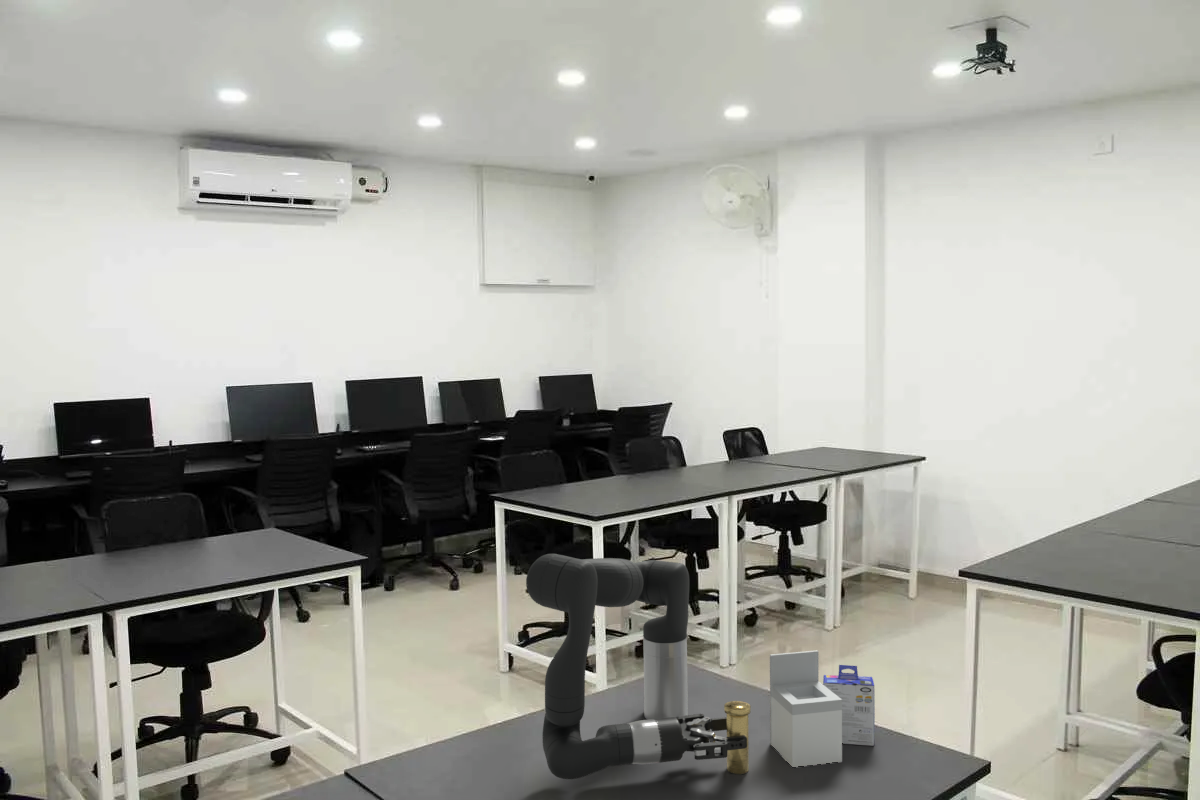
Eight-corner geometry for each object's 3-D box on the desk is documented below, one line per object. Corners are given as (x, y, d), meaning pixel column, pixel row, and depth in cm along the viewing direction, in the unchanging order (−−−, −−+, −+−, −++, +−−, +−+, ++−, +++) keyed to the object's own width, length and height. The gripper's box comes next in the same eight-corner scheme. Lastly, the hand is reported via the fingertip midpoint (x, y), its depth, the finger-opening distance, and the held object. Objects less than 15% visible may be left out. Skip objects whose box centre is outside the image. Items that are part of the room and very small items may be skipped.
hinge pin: (721, 764, 174) (720, 702, 174) (745, 762, 175) (744, 699, 175) (730, 776, 170) (729, 712, 169) (754, 773, 171) (754, 709, 170)
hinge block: (770, 744, 183) (769, 654, 182) (817, 739, 185) (817, 650, 184) (792, 767, 173) (792, 672, 172) (842, 762, 175) (842, 668, 174)
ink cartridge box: (873, 735, 187) (873, 664, 186) (875, 747, 181) (875, 674, 180) (822, 732, 189) (822, 662, 188) (823, 743, 183) (823, 671, 182)
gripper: (664, 736, 162) (752, 727, 165) (643, 706, 176) (724, 698, 179) (664, 778, 162) (752, 768, 165) (643, 744, 176) (725, 736, 179)
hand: (738, 732), depth 172 cm, fingers open, 8 cm apart
